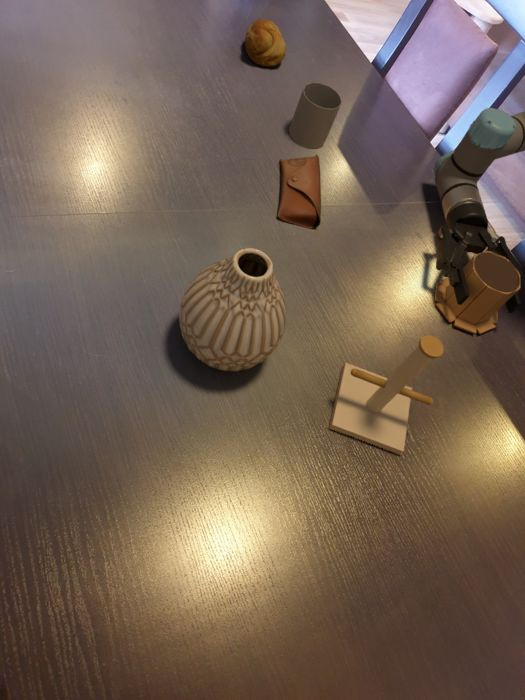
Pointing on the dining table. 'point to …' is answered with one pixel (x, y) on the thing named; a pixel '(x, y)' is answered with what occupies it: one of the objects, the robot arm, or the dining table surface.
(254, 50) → the bread roll
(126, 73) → the dining table surface
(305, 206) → the sunglasses case
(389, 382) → the stand
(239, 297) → the vase
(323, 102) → the cup
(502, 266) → the hat
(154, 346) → the dining table surface
